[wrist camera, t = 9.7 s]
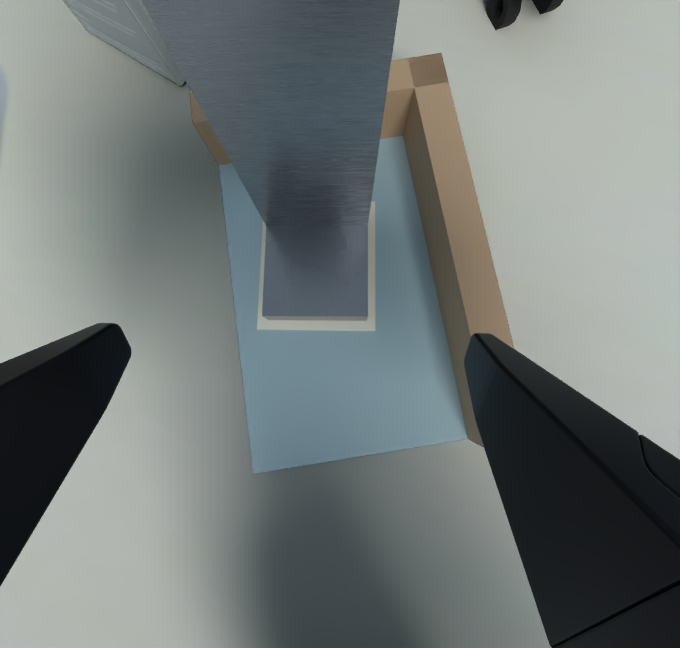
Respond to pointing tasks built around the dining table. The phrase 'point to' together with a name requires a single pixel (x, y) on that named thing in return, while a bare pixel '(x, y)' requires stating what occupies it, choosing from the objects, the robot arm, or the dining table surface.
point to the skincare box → (127, 32)
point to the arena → (374, 299)
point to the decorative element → (514, 10)
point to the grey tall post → (295, 130)
